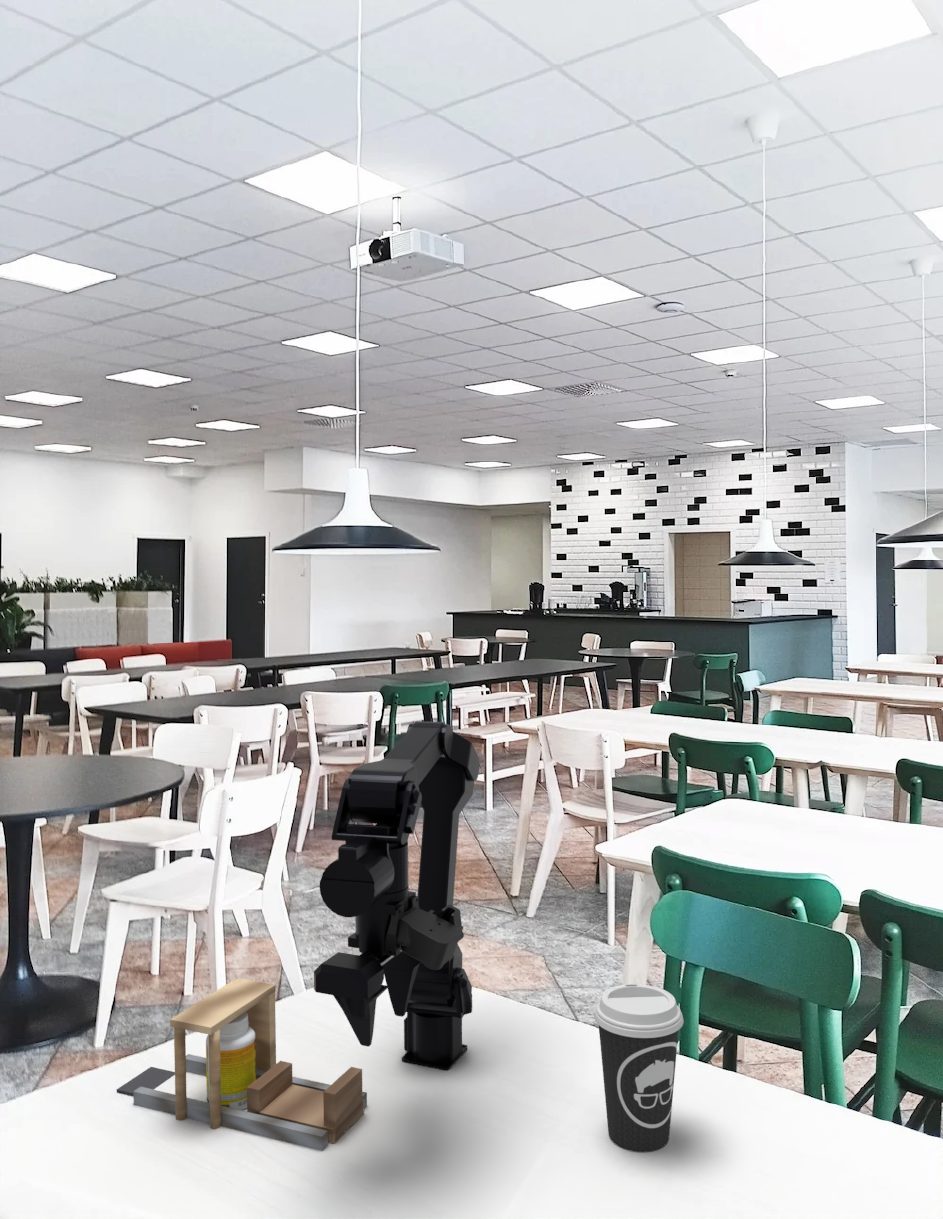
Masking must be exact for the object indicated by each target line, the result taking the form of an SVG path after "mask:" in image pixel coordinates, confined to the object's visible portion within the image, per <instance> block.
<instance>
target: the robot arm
mask: <svg viewBox="0 0 943 1219" xmlns="http://www.w3.org/2000/svg"><path fill="white" fill-rule="evenodd" d="M479 760H480V759H479V755H478V753H477V751H476V749H475V747H474V745H473V743H472V742H471V741H470V740H469V739H467V738H465V737H463V736H461V735H459V734H458V733H457V732H454V730H453V728H452V726H451V725H450V723H449V724H448V723H445V722H444V721H415V722H412V723H409V725H408V726H407V730H406V734H404V736H402V738H401V739H400V740H399V741H398V742H397V744H395V746H393V748H392V749H391V750H390V751H389V752H388V753H387V754H386V755H385V757H384V758H382V759H381V760H378V761H377V760H376V761H370V762H366V763H363V764H361V765H359V766H357V767H356V768H354V769H353V770H352V771H351V772H350V774H349V776H348V777H347V779H345V781H344V782H343V785H342V789H341V793H340V798H339V802H338V805H337V806H338V807H337V810H336V815H335V819H334V824H333V829H332V833H331V841H340V842H341V841H343V842H344V841H345V842H344V843H343V844H341V845H340V846H338V849H337V853H338V854H337V858H336V859H335V860H333V861H332V862H331V863H330V864H329V865H327V866H326V868H325V870H324V871H323V872H322V874H321V878H320V880H319V894H320V896H321V899H322V902H323V903H324V904H325V906H326V907H327V908H328V909H329V911H331V912H332V913H334V914H336V915H338V916H341V917H344V918H355V922H354V923H355V928H354V929H355V932H353V933H352V934H351V935H349V936H348V937H347V947H348V948H354V949H358V952H360V954H359V955H358V954H353V953H347V952H341V951H340V952H337V953H335V954H333V955H332V956H331V957H329V958H328V959H326V960H325V961H323V962H322V963H320V964H319V965H318V967H316V968H315V969H314V971H313V990H314V991H315V993H319V994H324V995H330V996H333V997H334V999H335V1001H336V1003H338V1005H339V1007H340V1008H341V1010H342V1011H343V1014H344V1015H345V1017H346V1019H347V1021H348V1023H349V1025H350V1027H351V1029H352V1031H353V1032H354V1036H355V1037H356V1038H357V1041H358V1042H359V1044H360V1045H361V1046H363V1047H370V1046H371V1045H372V1043H373V1042H372V1041H373V1037H374V1035H373V1034H374V1030H375V1029H374V1028H375V1019H376V1018H375V1016H376V1007H377V1000H378V998H380V996H381V995H382V994H383V993H384V992H385V991H386V990H387V991H388V996H389V1000H390V1003H391V1007H392V1009H393V1012H394V1015H395V1016H396V1017H397V1016H398V1017H402V1018H403V1017H404V1016H405V1015H406V1017H405V1018H404V1019H403V1049H404V1052H406V1053H405V1054H404V1055H402V1057H401V1062H402V1063H406V1064H409V1065H410V1064H411V1065H416V1066H420V1067H426V1068H431V1069H436V1070H440V1071H450V1070H451V1069H452V1067H453V1066H455V1064H456V1063H457V1061H459V1060H460V1058H461V1057H462V1056H464V1055H465V1053H467V1051H468V1050H469V1049H468V1048H469V1047H468V1045H467V1044H464V1043H463V1018H464V1016H465V1015H466V1016H467V1014H468V1015H469V1014H471V1013H473V992H472V990H473V985H472V984H471V980H470V979H469V978H468V975H467V972H466V970H465V968H463V951H462V950H461V948H460V946H459V944H458V943H459V942H460V941H461V940H463V939H464V937H465V935H464V932H463V929H464V926H463V925H462V917H461V910H460V909H459V908H457V907H455V906H454V899H455V898H454V895H455V881H456V869H457V868H456V866H457V865H456V864H457V852H458V839H459V836H458V835H459V823H460V814H461V812H462V811H463V810H464V808H465V807H466V805H467V804H468V802H469V801H470V799H471V798H472V796H473V794H474V785H475V782H476V781H478V777H479V773H480V772H479V770H480V761H479ZM420 809H423V818H422V820H423V821H422V830H421V832H422V833H421V845H420V858H419V871H418V873H419V874H418V883H417V892H416V891H410V888H409V837H410V835H412V834H414V832H415V827H416V823H417V819H418V816H419V812H420ZM350 822H352V823H350ZM358 823H360V824H358ZM361 823H362V824H361ZM374 824H375V825H374ZM384 979H385V983H386V984H385V985H384V984H383V983H384Z"/></svg>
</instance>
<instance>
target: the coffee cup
mask: <svg viewBox="0 0 943 1219" xmlns="http://www.w3.org/2000/svg"><path fill="white" fill-rule="evenodd" d="M593 1020H594V1022H595V1023H596V1024H597V1025H598V1033H599V1041H600V1042H599V1044H600V1052H601V1053H600V1055H601V1065H602V1076H603V1086H604V1097H605V1098H604V1099H605V1108H606V1120H607V1130H608V1131H607V1133H608V1134H607V1135H608V1137H609V1139H610V1141H611V1142H612V1143H614V1144H615V1145H616V1146H618V1147H620V1148H622V1149H623V1150H624V1149H625V1150H627V1151H631V1152H636V1153H648V1152H650V1153H651V1152H654V1151H658V1150H660V1149H662V1148H664V1147H666V1145H667V1144H668V1143H669V1141H670V1133H671V1121H672V1120H671V1119H672V1109H673V1097H674V1096H673V1095H674V1085H675V1084H674V1083H675V1076H676V1075H675V1073H676V1063H677V1062H676V1061H677V1049H678V1040H679V1031H680V1029H682V1027H683V1026H684V1023H685V1022H684V1021H685V1020H684V1016H683V1013H682V1010H681V1008H680V1006H678V1004H677V1000H676V998H675V997H674V995H673V994H672V993H670V992H669V991H667V990H665V989H663V988H660V987H657V986H653V985H648V984H640V983H639V984H638V983H629V984H625V983H624V984H620V985H615V986H612V987H610V988H609V987H608V988H607V989H606V990H605V991H603V992H602V994H601V997H600V999H599V1001H598V1002H597V1004H596V1007H595V1008H594V1011H593Z"/></svg>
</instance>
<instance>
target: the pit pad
mask: <svg viewBox="0 0 943 1219" xmlns="http://www.w3.org/2000/svg"><path fill="white" fill-rule="evenodd" d="M172 1077H175V1071H172V1070H168V1069H162V1068H159V1067H154V1066H150V1067H148V1068H147V1069H145V1070H144V1071H143V1072H141V1073H139V1074H138V1075H136V1076H134V1077H133V1078H132V1079H130V1080H129V1081H128V1082H126V1083H124V1084H122V1085H121V1086H119V1087H118V1088H117V1089H116V1092H117V1093H120V1094H124V1095H127V1096H131V1097H134V1094H133V1091H135V1090H136V1089H138V1088H139V1087H145V1088H149V1089H153V1090H156V1088H158V1087H159V1086H161V1085H162V1084H164V1083H165V1082H167V1081H168V1080H170V1079H171V1078H172Z"/></svg>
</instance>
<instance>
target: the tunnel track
mask: <svg viewBox="0 0 943 1219" xmlns="http://www.w3.org/2000/svg"><path fill="white" fill-rule="evenodd" d="M244 1012H247V1014H248V1022H249V1024H248V1026H249V1027H251V1028H252V1029H253V1030H254V1032H255V1039H256V1040H255V1046H256V1080H257V1079H258V1078H259V1077H261V1076H262V1075H263V1074H264V1073H266V1072H267V1071H268V1070H269V1069H271V1068H272V1067H273V1066H275V1065H276V1064H277V1041H276V1040H277V1036H276V1035H277V1034H276V1033H277V1032H276V1030H277V1029H276V1027H277V1026H276V1024H277V1023H276V984H274V983H273V984H272V983H266V982H261V981H256V980H251V979H244V978H238V977H237V978H235V979H233V980H232V981H230V982H229V983H227V984H225V985H224V986H222V987H220V988H219V989H217V990H215V991H213V992H212V993H211V994H209V995H208V996H205V997H203V998H202V999H201V1000H199V1001H197V1002H196V1003H195V1004H193V1005H191V1006H189V1007H188V1008H186V1009H185V1010H183V1011H181V1012H180V1013H178V1014H176V1015H175V1016H173V1017H171V1018H170V1019H169V1027H170V1028H173V1040H174V1041H173V1042H174V1043H173V1044H174V1046H173V1047H174V1072H175V1075H174V1089H175V1090H174V1093H175V1094H174V1093H170V1092H165V1091H161V1090H157V1089H154V1090H153V1089H149V1088H145V1087H139V1088H138V1089H136V1090H135V1091H133V1094H134V1096H133V1106H134V1105H135V1106H137V1107H142V1108H145V1109H146V1108H147V1109H149V1110H154V1111H158V1112H162V1113H166V1114H170V1115H174V1116H175V1120H176V1121H184V1120H186V1119H191V1120H195V1121H198V1122H203V1123H207V1124H209V1126H210V1129H212V1130H217V1129H220V1128H227V1129H231V1130H236V1131H240V1132H243V1133H248V1134H251V1135H255V1136H259V1137H264V1138H268V1139H270V1140H271V1139H272V1140H275V1141H280V1142H282V1143H283V1142H284V1143H288V1144H293V1145H296V1146H300V1147H303V1148H307V1149H312V1150H316V1151H320V1152H323V1151H324V1150H325V1149H326V1147H328V1145H329V1142H328V1131H326V1130H322V1129H318V1128H314V1127H309V1126H305V1125H301V1124H297V1123H293V1122H288V1121H284V1120H280V1119H276V1118H271V1117H267V1116H263V1115H259V1114H255V1113H250V1112H247V1111H246V1110H238V1109H233V1108H229V1107H225V1106H221V1067H220V1029H221V1028H222V1027H223V1026H225V1025H226V1024H228V1023H229V1022H231V1021H232V1020H234V1019H235V1018H237V1017H238V1016H240V1015H241V1014H243V1013H244ZM186 1031H190V1032H195V1033H200V1034H205V1035H208V1034H209V1082H210V1103H208V1102H207V1101H204V1100H199V1099H195V1098H191V1097H188V1096H187V1073H192V1074H194V1075H200V1076H205V1077H207V1074H206V1056H204V1057H203V1056H200V1055H195V1054H192V1053H191V1054H190V1053H188V1054H186V1053H187V1052H186V1049H187V1048H186V1047H187V1046H186ZM292 1084H293V1085H297V1086H302V1087H306V1088H311V1089H315V1090H320V1091H325V1090H326V1089H327V1088H328V1087H329V1086H330V1085H331V1084H329V1083H324V1082H319V1081H315V1080H311V1079H305V1078H302V1077H296V1076H292ZM362 1098H363V1100H364V1109H366V1107H367V1106H368V1092H366V1091H362Z"/></svg>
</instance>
